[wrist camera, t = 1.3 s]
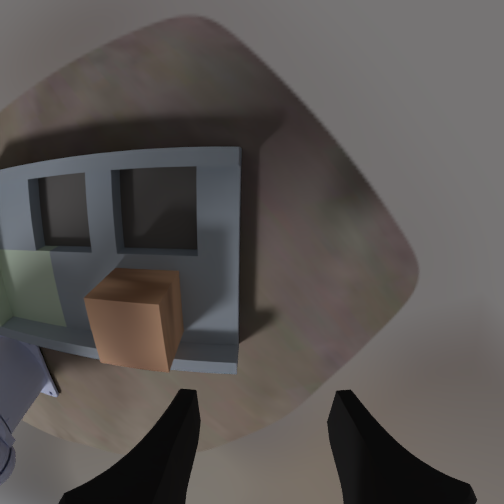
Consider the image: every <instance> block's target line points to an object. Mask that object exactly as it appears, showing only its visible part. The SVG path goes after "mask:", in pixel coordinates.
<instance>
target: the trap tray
mask: <svg viewBox="0 0 504 504" xmlns="http://www.w3.org/2000/svg"><path fill="white" fill-rule="evenodd" d="M241 159H242V148H240V147H176V148H156V149H141V150H128V151H117V152H106V153H97V154H89V155H81V156H73V157H66V158H60V159H53V160H47V161H41V162H36V163H30V164H25V165H20V166H15V167H10V168H6V169H1V170H0V335H2V336H5V337H8V338H12V339H15V340H18V341H22V342H25V343H29V344H33V345H36V346H40V347H44V348H48V349H52V350H57V351H61V352H65V353H70V354H74V355H79V356H84V357H89V358H94V359H100V358H99V355H98V352H97V348H96V345H95V341H94V338H93V334H92V330H91V327H90V323H89V319H88V315H87V310H86V306H85V302H84V297H85V296H86V295H87V294H88V293H89V292H90V291H91V290H92V289H93V288H94V287H95V286H97V285H98V284H99V283H100V282H101V281H102V280H103V279H104V278H105V277H106V276H107V275H108V274H109V273H110V272H111V271H113V270H114V269H115V268H129V269H151V270H174V271H179V278H180V291H181V304H182V315H183V325H184V332H183V335H182V338H181V340H180V343H179V346H178V349H177V352H176V354H175V357H174V360H173V363H172V366H171V369H170V370H180V371H192V372H205V373H221V374H237V363H238V350H239V273H240V207H241Z"/></svg>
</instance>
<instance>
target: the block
mask: <svg viewBox="0 0 504 504" xmlns="http://www.w3.org/2000/svg"><path fill="white" fill-rule="evenodd" d="M84 302H85V306H86V310H87V315H88V319H89V323H90V327H91V330H92V334H93V338H94V341H95V345H96V348H97V352H98V355H99V358H100V362H101V363H106V364H111V365H117V366H124V367H130V368H137V369H144V370H152V371H160V372H169V371H170V369H171V366H172V363H173V360H174V357H175V354H176V352H177V349H178V346H179V343H180V340H181V338H182V335H183V332H184V325H183V315H182V304H181V291H180V278H179V271H174V270H151V269H129V268H115V269H114V270H113V271H111V272H110V273H109V274H108V275H107V276H106V277H105V278H104V279H103V280H102V281H101V282H100V283H99V284H98V285H97V286H95V287H94V288H93V289H92V290H91V291H90V292H89V293H88V294H87V295H86V296H85V297H84Z"/></svg>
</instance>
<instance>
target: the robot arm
mask: <svg viewBox="0 0 504 504" xmlns="http://www.w3.org/2000/svg"><path fill="white" fill-rule="evenodd" d="M40 392H42V393H45V394H48V395H51V396H54V397H58V395H59V393H58V391H57V389H56V387H55V385H54V382H53V380H52V378H51V376H50V373H49V371H48V369H47V366H46V364H45V361H44V359H43V356H42V354H41V351H40V349H39V346H36V345H33V344H29V343H25V342H22V341H18V340H15V339H12V338H8V337H5V336H2V335H0V485H1V484H3V483H4V482H5V481H6V480H7V479H8V478H9V476H10V475H11V474H12V472H13V469H14V467H15V462H16V459H15V457H16V455H15V450H14V448H13V446H12V445H13V443H14V442H15V439H14V437H13V436H12V435H11V434H12V433H13V431H14V430H15V428H16V427H17V425H18V424H19V422H20V421H21V419H22V418H23V416H24V415H25V413H26V412H27V411H28V409H29V408H30V406H31V405H32V403H33V402H34V401H35V399H36V398H37V396H38V395H39V393H40ZM200 422H201V420H200V413H199V406H198V399H197V391H196V390H190V389H180V390H179V391H178V393H177V394H176V396H175V398H174V399H173V401H172V402H171V404H170V405H169V407H168V408H167V410H166V411H165V412H164V414H163V415H162V416H161V418H160V419H159V420H158V421H157V423H156V424H155V425H154V427H153V428H152V429H151V430H150V431H149V432H148V433H147V435H146V436H145V437H144V438H143V439H142V440H141V441H140V442H139V443H138V444H137V445H136V446H135V447H134V448H133V449H132V450H131V451H130V452H129V453H128V454H127V455H125V456H124V457H123V458H122V459H121V460H119V461H118V462H117V463H116V464H114V465H113V466H112V467H111V468H109V469H108V470H106V471H105V472H103V473H102V474H100V475H98V476H97V477H95V478H94V479H92V480H90V481H88V482H87V483H85V484H83V485H81V486H79V487H77V488H75V489H72V490H71V491H68V492H66V493H64V495H63V497H62V498H61V500H60V502H59V504H185V500H186V492H187V487H188V482H189V478H190V473H191V470H192V465H193V461H194V458H195V454H196V449H197V445H198V440H199V431H200ZM327 424H328V433H329V440H330V445H331V449H332V452H333V456H334V460H335V464H336V468H337V471H338V475H339V479H340V483H341V488H342V492H343V501H344V504H475V503H476V502H477V498H476V496H475V494H474V491H473V489H472V487H471V486H470V484H468V483H465V482H462V481H460V480H457V479H455V478H452V477H450V476H448V475H445V474H443V473H442V472H440V471H438V470H436V469H434V468H432V467H431V466H429V465H428V464H426V463H424V462H423V461H421V460H420V459H418V458H417V457H415V456H414V455H412V454H411V453H410V452H409V451H407V450H406V449H405V448H404V447H402V446H401V445H400V444H399V443H398V442H397V441H396V440H395V439H394V438H393V437H392V436H390V435H389V433H387V431H386V430H385V429H384V428H383V427H382V426H381V425H380V424H379V423H378V422H377V421H376V420H375V418H374V417H373V416H372V415H371V414H370V413H369V412H368V410H367V409H366V408H365V407H364V405H363V404H362V403H361V402H360V400H359V399H358V398H357V397H356V395H355V394H354V393H353V392H352V391H351V390H340V391H336V394H335V397H334V401H333V404H332V408H331V411H330V414H329V418H328V421H327Z"/></svg>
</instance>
